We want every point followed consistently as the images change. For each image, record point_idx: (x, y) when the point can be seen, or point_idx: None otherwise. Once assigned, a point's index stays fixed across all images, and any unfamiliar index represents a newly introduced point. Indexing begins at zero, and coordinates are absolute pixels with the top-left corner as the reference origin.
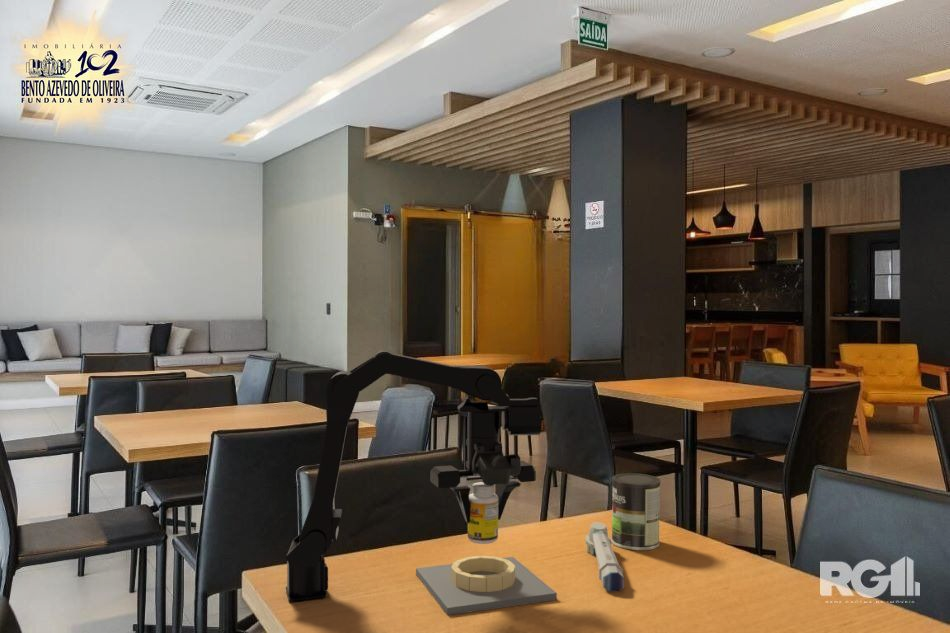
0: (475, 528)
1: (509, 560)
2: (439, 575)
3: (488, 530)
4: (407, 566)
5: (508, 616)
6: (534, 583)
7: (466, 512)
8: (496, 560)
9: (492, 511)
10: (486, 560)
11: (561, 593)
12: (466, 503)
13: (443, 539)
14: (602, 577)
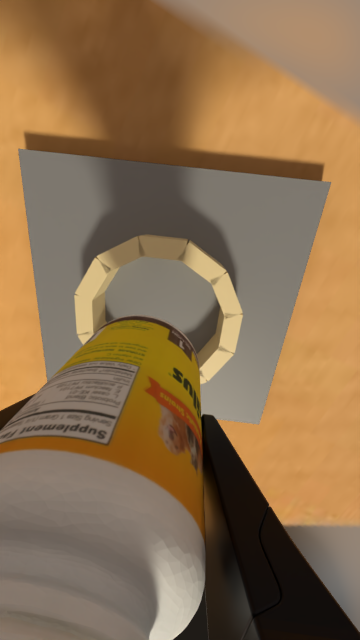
0: (188, 367)
1: None
2: (236, 373)
3: (133, 332)
4: (249, 450)
5: (189, 101)
6: (54, 240)
7: (233, 460)
8: None
9: (64, 391)
10: None
11: (6, 190)
12: (256, 528)
13: None
14: None
